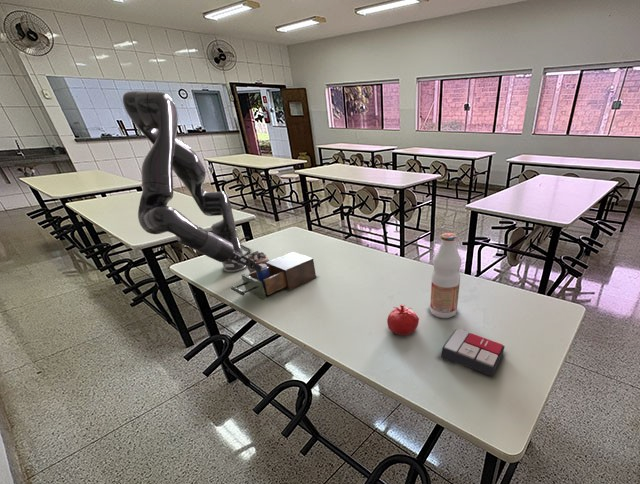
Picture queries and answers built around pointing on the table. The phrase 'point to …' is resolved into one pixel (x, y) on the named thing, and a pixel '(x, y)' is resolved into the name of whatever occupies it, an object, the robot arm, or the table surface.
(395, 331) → the pomegranate
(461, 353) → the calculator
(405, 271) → the table surface
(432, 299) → the fruit juice
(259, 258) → the cupcake
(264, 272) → the pepper shaker
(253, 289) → the drawer
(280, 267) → the cabinet
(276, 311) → the table surface
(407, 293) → the table surface
